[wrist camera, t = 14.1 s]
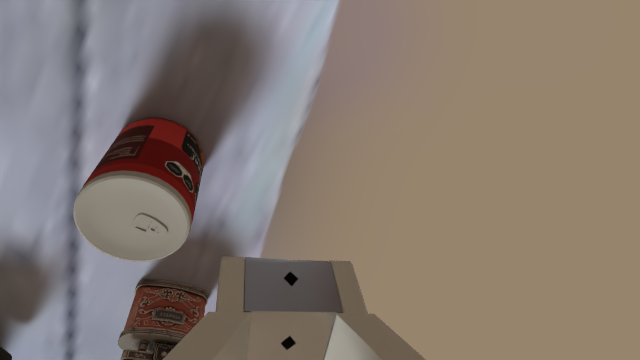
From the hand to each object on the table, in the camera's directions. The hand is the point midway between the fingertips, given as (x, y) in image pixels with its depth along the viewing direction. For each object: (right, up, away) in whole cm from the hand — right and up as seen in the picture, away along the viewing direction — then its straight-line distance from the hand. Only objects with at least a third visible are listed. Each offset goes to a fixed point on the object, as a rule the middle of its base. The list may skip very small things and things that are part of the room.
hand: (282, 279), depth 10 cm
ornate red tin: (-16, -11, +38) cm, 43 cm away
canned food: (-14, +5, +29) cm, 33 cm away
